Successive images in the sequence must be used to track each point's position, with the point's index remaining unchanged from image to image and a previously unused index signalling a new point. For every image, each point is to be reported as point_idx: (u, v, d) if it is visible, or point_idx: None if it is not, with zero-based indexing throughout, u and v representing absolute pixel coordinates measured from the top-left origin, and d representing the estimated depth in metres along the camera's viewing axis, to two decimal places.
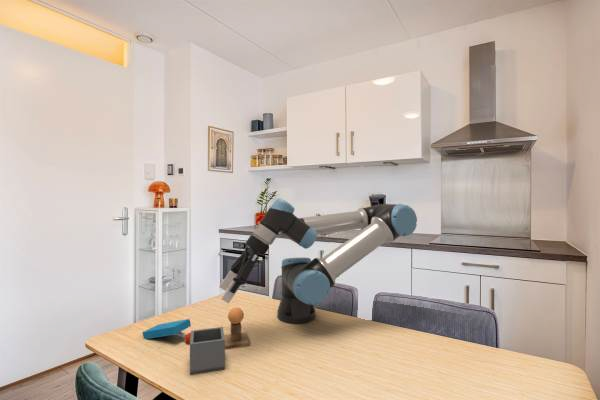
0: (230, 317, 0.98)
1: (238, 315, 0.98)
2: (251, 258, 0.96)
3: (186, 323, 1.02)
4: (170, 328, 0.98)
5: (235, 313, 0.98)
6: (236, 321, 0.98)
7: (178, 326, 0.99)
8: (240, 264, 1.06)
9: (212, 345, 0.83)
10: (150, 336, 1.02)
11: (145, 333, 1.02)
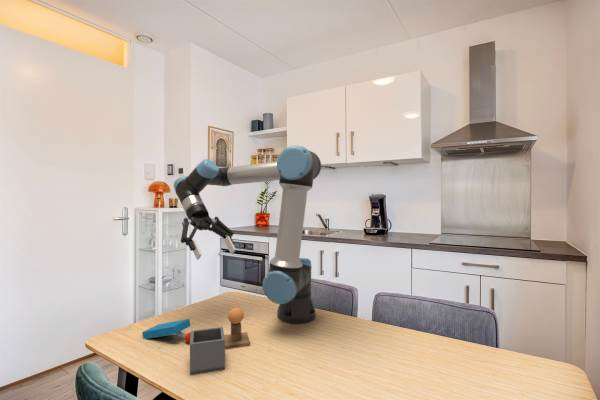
0: (230, 317, 0.98)
1: (238, 315, 0.98)
2: (183, 224, 1.09)
3: (186, 323, 1.03)
4: (170, 328, 0.99)
5: (235, 313, 0.98)
6: (236, 321, 0.98)
7: (178, 326, 0.99)
8: (216, 231, 1.15)
9: (212, 345, 0.83)
10: (150, 336, 1.02)
11: (145, 333, 1.02)
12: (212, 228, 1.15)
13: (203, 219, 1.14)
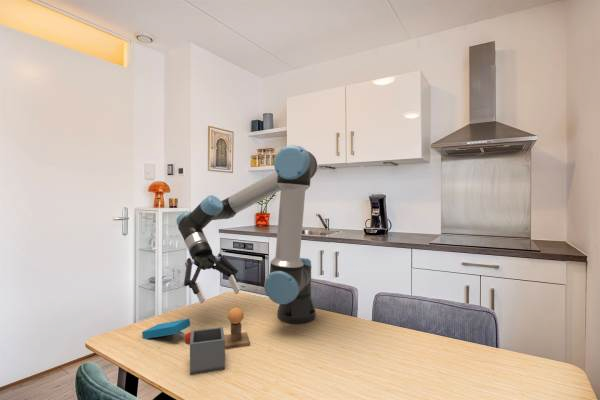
0: (230, 317, 0.98)
1: (238, 315, 0.98)
2: (186, 265, 1.07)
3: (186, 323, 1.03)
4: (170, 327, 0.99)
5: (235, 313, 0.98)
6: (236, 321, 0.98)
7: (178, 325, 1.00)
8: (219, 269, 1.13)
9: (212, 345, 0.83)
10: (150, 336, 1.02)
11: (144, 333, 1.03)
12: (216, 267, 1.13)
13: (206, 258, 1.12)
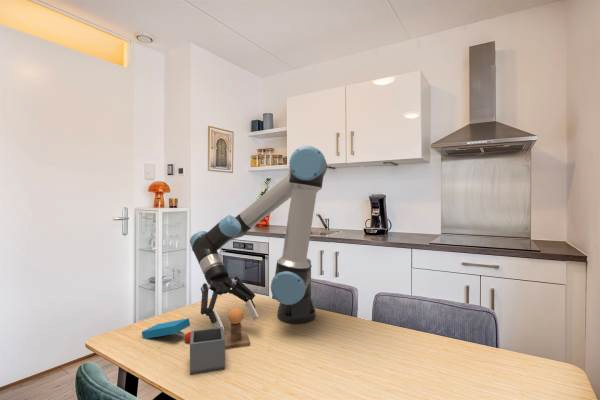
0: (230, 317, 0.98)
1: (238, 315, 0.98)
2: (202, 290, 1.01)
3: (185, 322, 1.03)
4: (170, 327, 0.99)
5: (235, 313, 0.98)
6: (236, 321, 0.98)
7: (178, 325, 1.00)
8: (236, 294, 1.07)
9: (212, 345, 0.83)
10: (149, 336, 1.02)
11: (144, 333, 1.03)
12: (232, 291, 1.06)
13: (223, 282, 1.06)
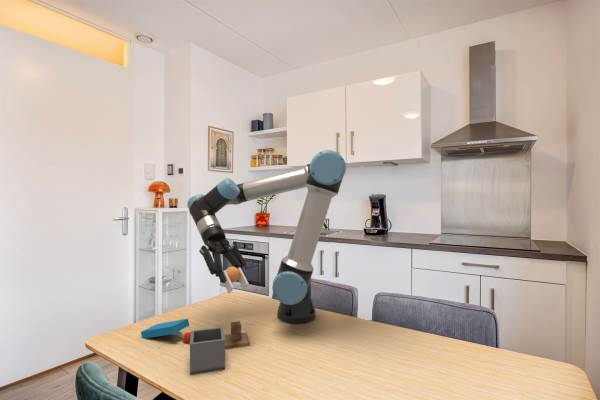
0: None
1: (234, 274, 0.97)
2: (202, 253, 1.00)
3: (184, 323, 1.03)
4: (168, 327, 0.99)
5: (231, 271, 0.97)
6: (232, 279, 0.97)
7: (176, 325, 1.00)
8: (229, 258, 1.04)
9: (212, 345, 0.83)
10: (148, 335, 1.02)
11: (143, 333, 1.03)
12: (226, 254, 1.04)
13: (219, 240, 1.05)
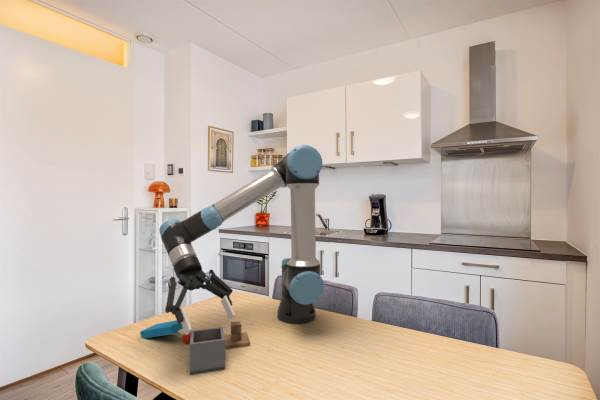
0: None
1: None
2: (169, 285, 0.88)
3: None
4: (167, 328, 0.99)
5: None
6: None
7: (175, 326, 0.99)
8: (210, 289, 0.93)
9: (212, 345, 0.83)
10: (147, 335, 1.02)
11: (143, 332, 1.03)
12: (206, 286, 0.93)
13: (194, 275, 0.92)
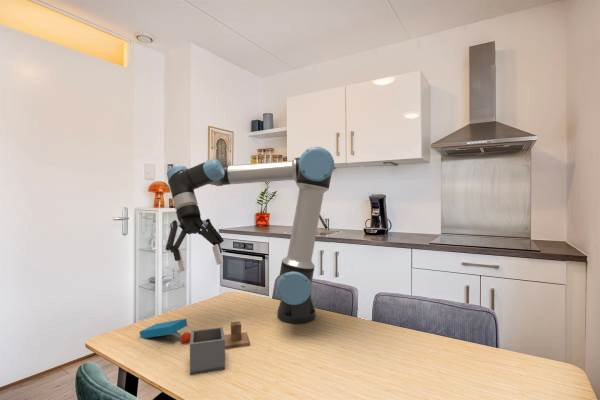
0: None
1: None
2: (171, 227, 1.00)
3: (182, 323, 1.03)
4: (166, 328, 0.99)
5: None
6: None
7: (174, 326, 0.99)
8: (205, 236, 1.07)
9: (212, 345, 0.83)
10: (147, 335, 1.02)
11: (142, 332, 1.03)
12: (202, 232, 1.07)
13: (194, 222, 1.05)
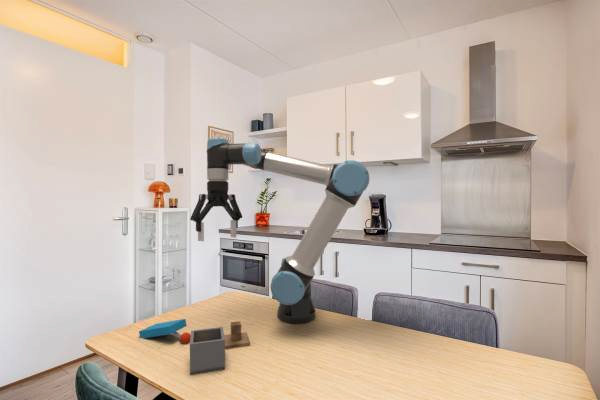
0: None
1: None
2: (199, 198, 1.08)
3: (182, 323, 1.03)
4: (165, 328, 0.99)
5: None
6: None
7: (173, 326, 0.99)
8: (227, 210, 1.16)
9: (212, 345, 0.83)
10: (146, 335, 1.02)
11: (141, 332, 1.03)
12: (225, 207, 1.15)
13: (220, 197, 1.12)
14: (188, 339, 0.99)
